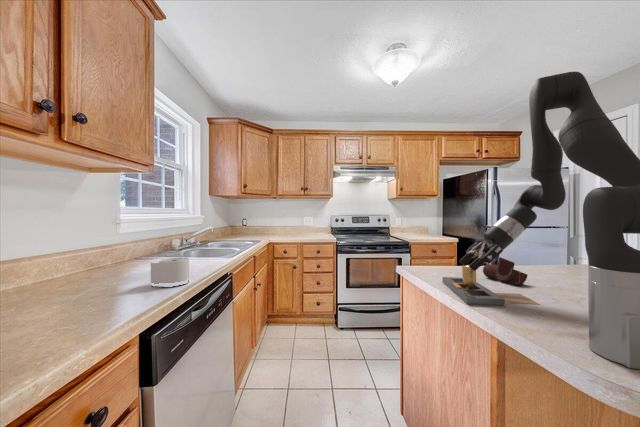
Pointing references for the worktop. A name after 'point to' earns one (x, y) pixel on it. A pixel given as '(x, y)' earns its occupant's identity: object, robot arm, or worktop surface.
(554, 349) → the worktop surface
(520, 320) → the worktop surface
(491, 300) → the grey flat frame
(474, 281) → the gold domed cylinder
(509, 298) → the tan rectangular plate
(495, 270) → the bracket
